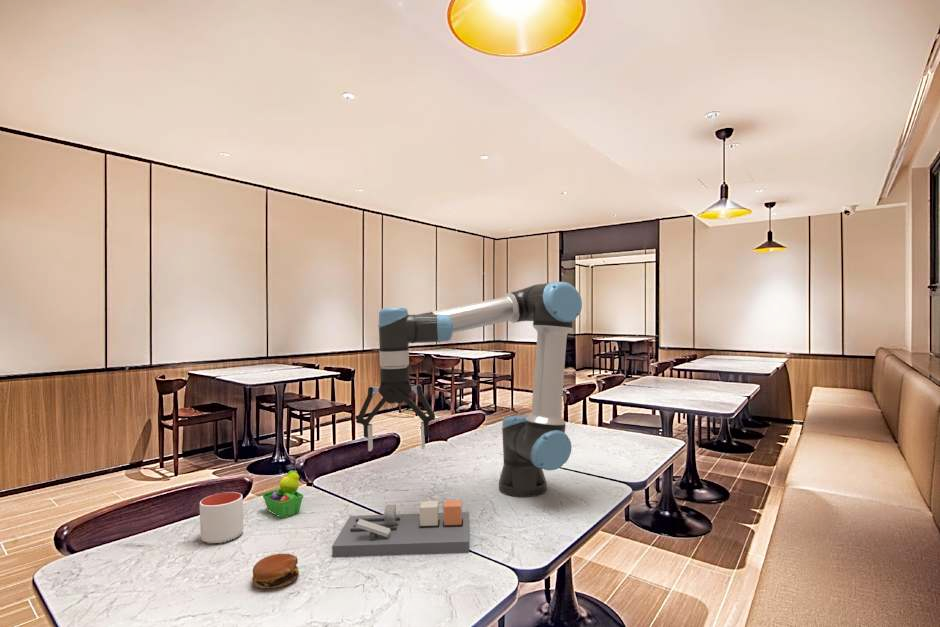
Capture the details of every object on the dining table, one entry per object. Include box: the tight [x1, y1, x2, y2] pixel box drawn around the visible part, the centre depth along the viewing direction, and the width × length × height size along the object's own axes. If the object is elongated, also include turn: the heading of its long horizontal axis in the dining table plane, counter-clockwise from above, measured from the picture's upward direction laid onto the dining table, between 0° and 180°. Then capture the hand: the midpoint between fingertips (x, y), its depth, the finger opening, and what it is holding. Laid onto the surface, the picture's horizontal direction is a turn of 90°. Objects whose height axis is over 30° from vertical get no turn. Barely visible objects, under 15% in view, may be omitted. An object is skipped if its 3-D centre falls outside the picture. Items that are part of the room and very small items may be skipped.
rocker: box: [356, 519, 390, 537], centre depth 123 cm, size 8×3×1 cm, turn 90°
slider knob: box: [383, 504, 397, 526], centre depth 130 cm, size 2×4×4 cm, turn 0°
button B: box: [419, 500, 440, 526], centre depth 130 cm, size 4×4×5 cm
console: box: [331, 511, 470, 558], centre depth 128 cm, size 32×18×4 cm, turn 90°
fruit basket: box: [262, 469, 304, 519], centre depth 148 cm, size 11×9×11 cm
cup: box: [199, 491, 244, 544], centre depth 132 cm, size 10×10×10 cm
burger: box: [251, 553, 300, 590], centre depth 109 cm, size 10×9×5 cm
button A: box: [443, 499, 463, 525], centre depth 130 cm, size 4×4×5 cm
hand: (397, 448), depth 132 cm, fingers open, 13 cm apart
